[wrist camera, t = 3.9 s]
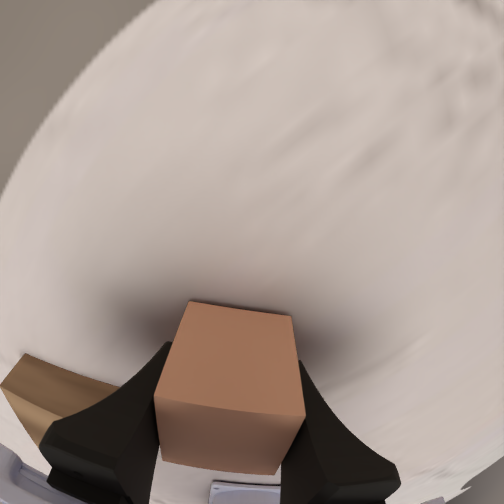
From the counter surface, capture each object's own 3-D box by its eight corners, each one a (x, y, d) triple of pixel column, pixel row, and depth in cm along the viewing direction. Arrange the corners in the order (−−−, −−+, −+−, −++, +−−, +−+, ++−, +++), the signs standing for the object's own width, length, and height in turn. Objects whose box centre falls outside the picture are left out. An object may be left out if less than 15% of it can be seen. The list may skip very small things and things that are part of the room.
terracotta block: (271, 384, 15) (274, 475, 9) (185, 372, 14) (162, 460, 9) (291, 316, 13) (305, 416, 8) (188, 301, 13) (153, 395, 8)
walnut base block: (148, 452, 20) (138, 490, 16) (58, 421, 19) (41, 452, 15) (136, 388, 16) (117, 437, 12) (27, 350, 16) (-1, 385, 12)
